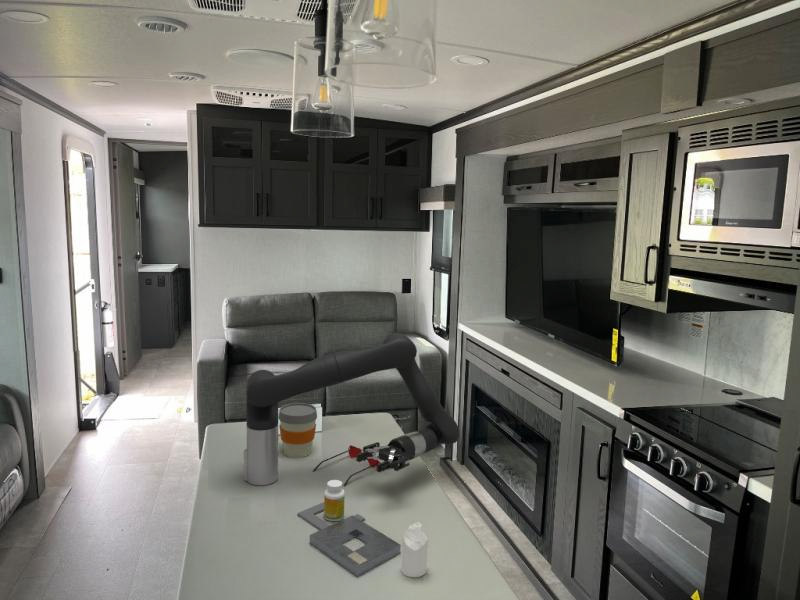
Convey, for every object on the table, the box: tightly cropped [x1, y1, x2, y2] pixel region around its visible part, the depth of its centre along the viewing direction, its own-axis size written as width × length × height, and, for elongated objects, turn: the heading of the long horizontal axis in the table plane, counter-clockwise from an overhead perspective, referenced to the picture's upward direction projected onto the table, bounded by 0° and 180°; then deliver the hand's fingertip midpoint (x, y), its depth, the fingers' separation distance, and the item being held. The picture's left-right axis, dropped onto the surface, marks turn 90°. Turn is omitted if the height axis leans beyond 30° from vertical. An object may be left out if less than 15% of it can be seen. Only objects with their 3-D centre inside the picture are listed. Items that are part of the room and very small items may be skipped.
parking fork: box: [296, 501, 366, 531], centre depth 162 cm, size 12×14×1 cm
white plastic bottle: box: [400, 521, 429, 578], centre depth 140 cm, size 6×12×6 cm
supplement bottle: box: [323, 479, 346, 522], centre depth 162 cm, size 5×5×10 cm
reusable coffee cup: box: [278, 402, 318, 459], centre depth 201 cm, size 13×13×15 cm
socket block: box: [309, 515, 402, 578], centre depth 149 cm, size 18×14×2 cm
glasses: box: [312, 444, 381, 487], centre depth 190 cm, size 14×16×5 cm
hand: (367, 463), depth 169 cm, fingers open, 8 cm apart
